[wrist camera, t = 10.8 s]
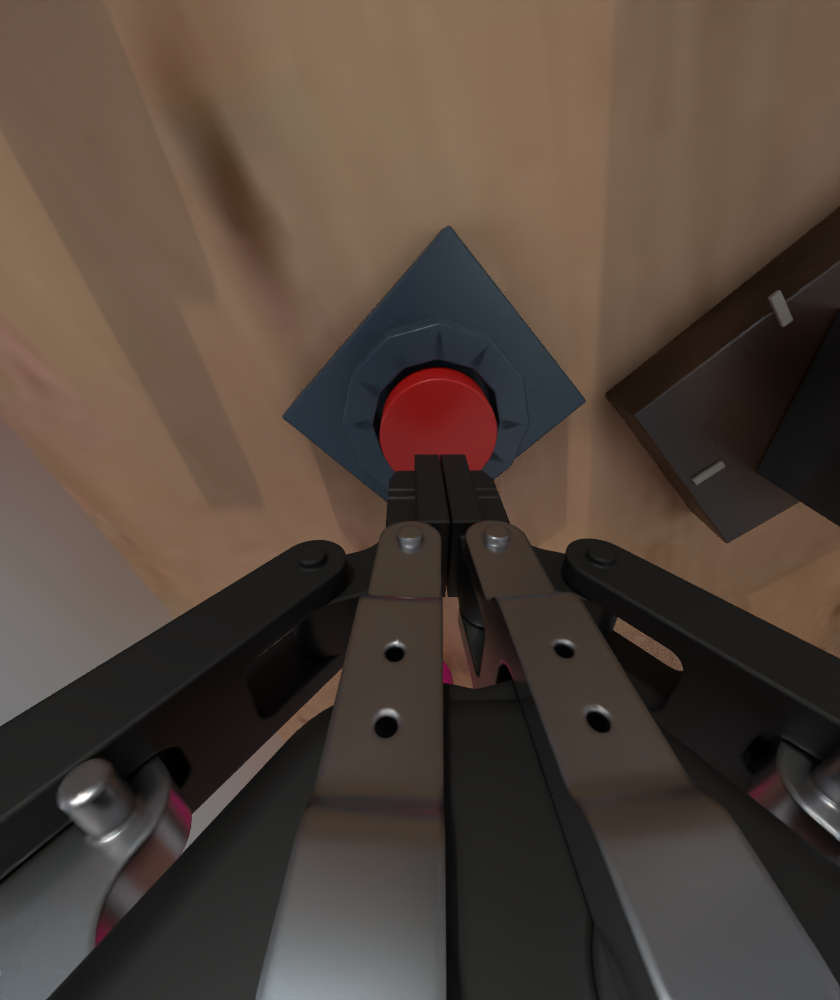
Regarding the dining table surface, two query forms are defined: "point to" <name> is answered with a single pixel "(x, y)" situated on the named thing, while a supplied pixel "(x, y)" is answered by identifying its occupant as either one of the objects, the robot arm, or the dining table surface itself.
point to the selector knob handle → (811, 436)
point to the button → (437, 419)
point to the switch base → (736, 384)
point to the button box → (435, 364)
